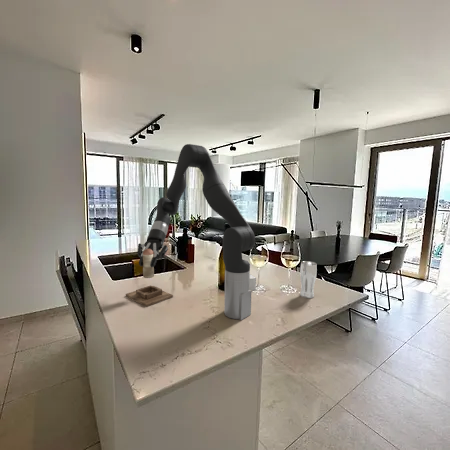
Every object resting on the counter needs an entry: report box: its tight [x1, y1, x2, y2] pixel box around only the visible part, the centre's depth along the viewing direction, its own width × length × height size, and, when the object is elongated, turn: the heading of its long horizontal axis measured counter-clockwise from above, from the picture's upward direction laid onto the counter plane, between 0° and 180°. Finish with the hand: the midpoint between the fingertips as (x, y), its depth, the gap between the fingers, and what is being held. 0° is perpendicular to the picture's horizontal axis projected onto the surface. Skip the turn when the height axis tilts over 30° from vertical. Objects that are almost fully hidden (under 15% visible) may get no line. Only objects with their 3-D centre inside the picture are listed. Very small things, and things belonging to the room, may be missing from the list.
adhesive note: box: [249, 273, 257, 291], centre depth 124 cm, size 6×6×6 cm
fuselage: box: [142, 248, 155, 279], centre depth 111 cm, size 4×4×12 cm
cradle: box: [125, 285, 174, 308], centre depth 113 cm, size 16×13×3 cm
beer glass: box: [299, 260, 318, 299], centre depth 115 cm, size 7×7×15 cm
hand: (146, 265), depth 109 cm, fingers closed on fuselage, 4 cm apart
